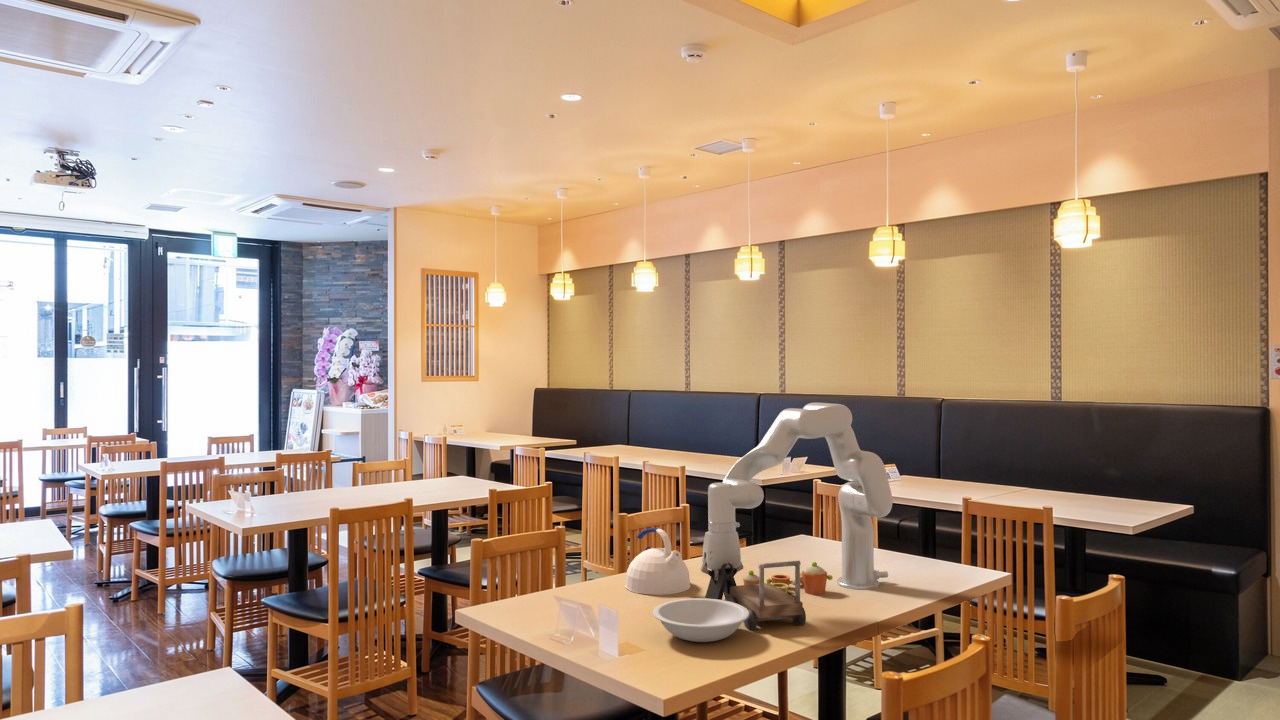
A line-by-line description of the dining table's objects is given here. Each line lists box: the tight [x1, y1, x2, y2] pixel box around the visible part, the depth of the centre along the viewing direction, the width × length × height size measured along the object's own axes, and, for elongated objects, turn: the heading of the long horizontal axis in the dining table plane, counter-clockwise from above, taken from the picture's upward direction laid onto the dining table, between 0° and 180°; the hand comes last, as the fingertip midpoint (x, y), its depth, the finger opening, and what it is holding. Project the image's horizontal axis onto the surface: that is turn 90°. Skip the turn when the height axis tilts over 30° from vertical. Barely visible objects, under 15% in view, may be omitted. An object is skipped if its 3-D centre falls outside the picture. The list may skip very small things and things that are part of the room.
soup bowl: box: [652, 597, 749, 643], centre depth 208 cm, size 24×24×7 cm
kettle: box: [625, 527, 692, 596], centre depth 256 cm, size 20×21×18 cm
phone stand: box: [704, 563, 737, 601], centre depth 232 cm, size 9×6×12 cm, turn 117°
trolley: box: [727, 560, 807, 631], centre depth 221 cm, size 15×20×18 cm
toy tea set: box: [742, 561, 833, 597], centre depth 249 cm, size 26×16×10 cm, turn 109°
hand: (722, 592), depth 232 cm, fingers closed on phone stand, 2 cm apart
